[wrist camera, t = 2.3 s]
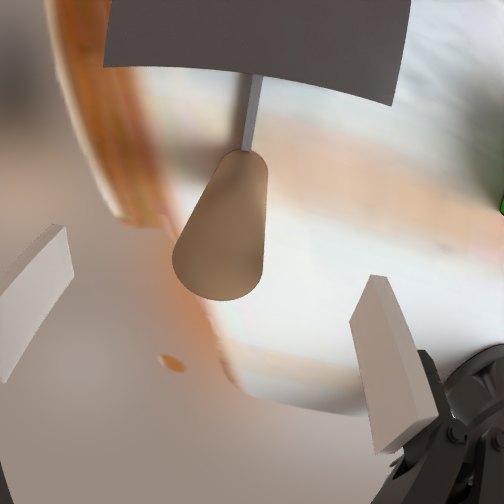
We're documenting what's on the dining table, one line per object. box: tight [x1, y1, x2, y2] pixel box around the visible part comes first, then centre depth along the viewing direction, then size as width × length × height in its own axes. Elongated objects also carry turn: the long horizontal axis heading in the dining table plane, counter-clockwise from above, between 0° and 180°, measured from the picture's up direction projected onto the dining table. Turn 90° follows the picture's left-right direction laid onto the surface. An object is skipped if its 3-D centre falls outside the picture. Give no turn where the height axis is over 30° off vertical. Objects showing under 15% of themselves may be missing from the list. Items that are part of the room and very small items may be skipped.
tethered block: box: [172, 74, 268, 301], centre depth 14 cm, size 23×6×13 cm, turn 171°
